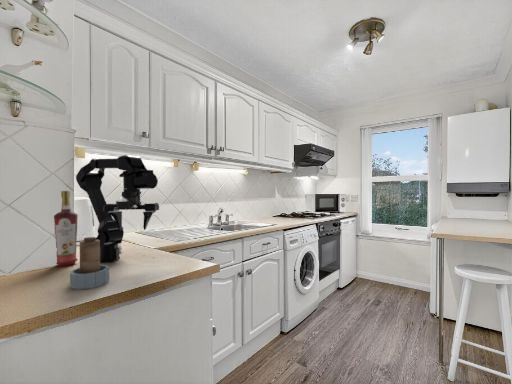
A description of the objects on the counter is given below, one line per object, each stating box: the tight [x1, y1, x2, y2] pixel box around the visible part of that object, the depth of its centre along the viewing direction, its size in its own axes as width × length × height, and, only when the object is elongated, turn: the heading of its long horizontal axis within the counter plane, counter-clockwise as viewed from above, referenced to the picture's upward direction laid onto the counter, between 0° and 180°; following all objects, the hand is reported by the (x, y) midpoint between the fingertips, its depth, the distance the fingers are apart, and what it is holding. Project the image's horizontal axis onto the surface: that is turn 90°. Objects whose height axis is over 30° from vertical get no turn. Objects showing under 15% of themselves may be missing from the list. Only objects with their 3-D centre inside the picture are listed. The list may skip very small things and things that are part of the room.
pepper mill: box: [79, 236, 101, 274], centre depth 80 cm, size 5×5×13 cm
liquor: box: [53, 190, 79, 267], centre depth 100 cm, size 7×7×28 cm
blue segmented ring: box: [69, 264, 110, 291], centre depth 80 cm, size 10×10×4 cm
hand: (132, 229), depth 101 cm, fingers open, 9 cm apart
